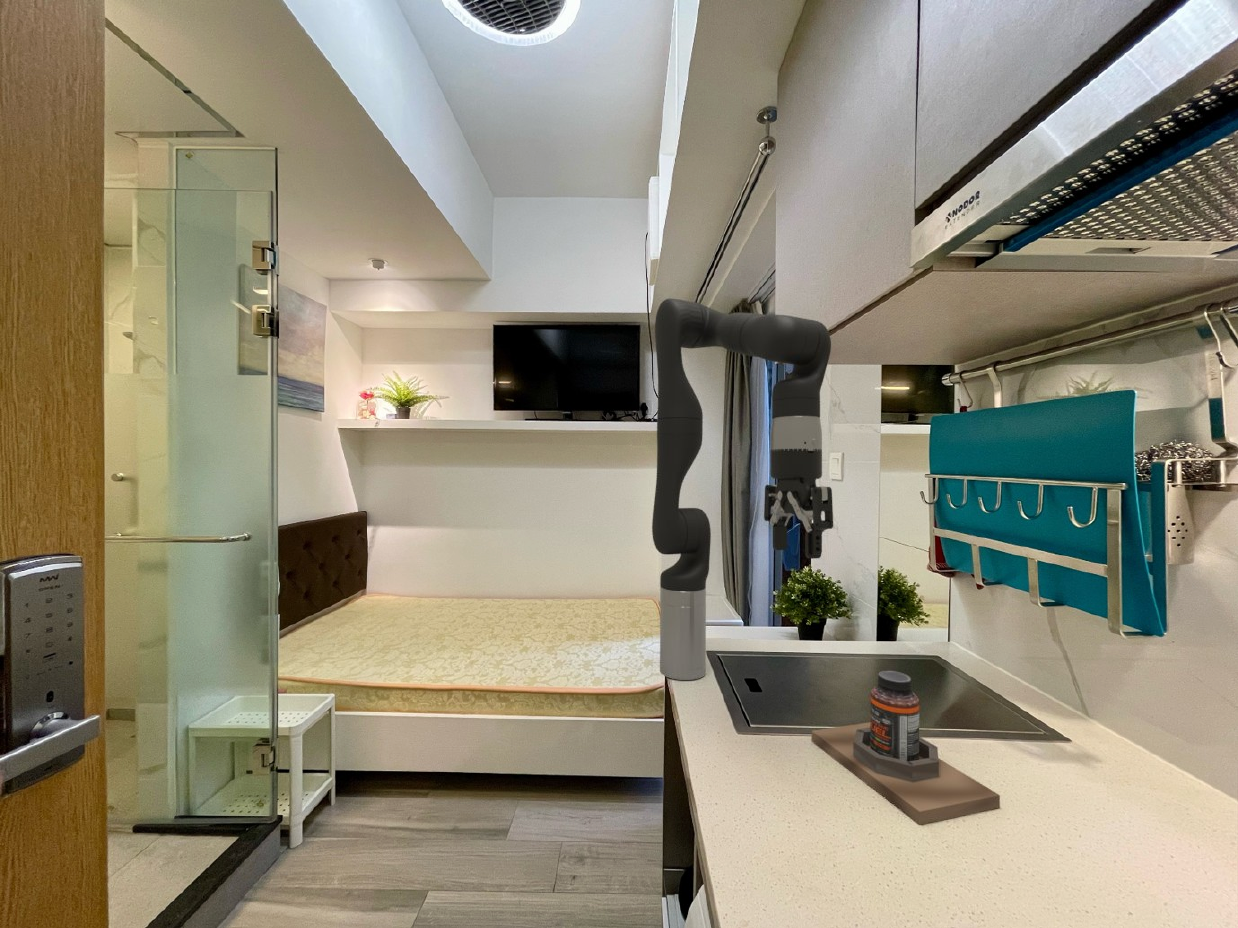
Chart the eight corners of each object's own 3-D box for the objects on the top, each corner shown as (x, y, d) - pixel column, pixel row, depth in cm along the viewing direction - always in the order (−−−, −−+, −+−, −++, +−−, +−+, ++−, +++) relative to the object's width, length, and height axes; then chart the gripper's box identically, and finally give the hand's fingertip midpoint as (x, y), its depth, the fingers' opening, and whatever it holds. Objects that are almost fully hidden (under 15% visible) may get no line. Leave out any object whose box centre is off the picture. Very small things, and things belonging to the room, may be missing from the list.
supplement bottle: (860, 751, 74) (860, 670, 74) (892, 744, 76) (892, 665, 77) (896, 774, 69) (895, 686, 69) (930, 766, 71) (929, 680, 71)
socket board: (811, 740, 80) (811, 717, 80) (877, 730, 84) (877, 708, 84) (919, 824, 61) (919, 793, 61) (999, 807, 64) (999, 778, 64)
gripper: (750, 449, 87) (750, 548, 87) (802, 444, 74) (802, 562, 73) (790, 450, 89) (790, 546, 89) (848, 446, 76) (848, 560, 75)
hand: (795, 553), depth 81 cm, fingers open, 8 cm apart
